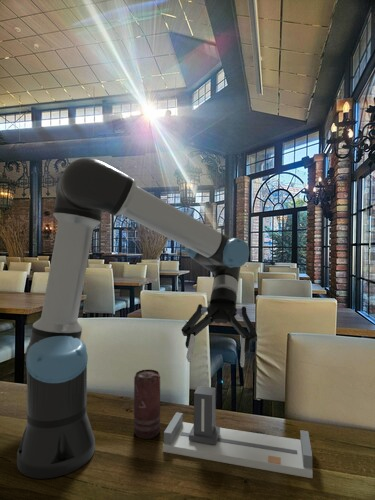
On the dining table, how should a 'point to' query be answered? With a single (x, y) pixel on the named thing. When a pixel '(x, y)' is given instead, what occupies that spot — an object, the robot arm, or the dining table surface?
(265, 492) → the dining table surface
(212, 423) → the fader knob
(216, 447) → the fader base
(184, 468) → the dining table surface
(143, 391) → the can
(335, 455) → the dining table surface
